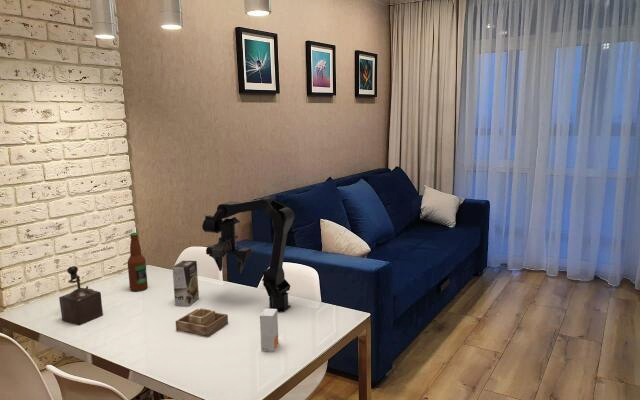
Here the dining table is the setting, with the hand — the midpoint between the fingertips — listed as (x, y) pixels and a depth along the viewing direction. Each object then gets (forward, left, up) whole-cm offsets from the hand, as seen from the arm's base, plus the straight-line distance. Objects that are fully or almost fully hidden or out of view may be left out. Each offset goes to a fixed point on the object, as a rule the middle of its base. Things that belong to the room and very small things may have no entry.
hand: (230, 272), depth 193 cm
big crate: (-5, +25, -12) cm, 28 cm away
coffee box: (+16, +8, -12) cm, 22 cm away
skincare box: (-35, +29, -12) cm, 47 cm away
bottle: (+46, +4, -12) cm, 48 cm away
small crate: (-5, +25, -11) cm, 28 cm away
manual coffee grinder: (+45, +35, -12) cm, 58 cm away
